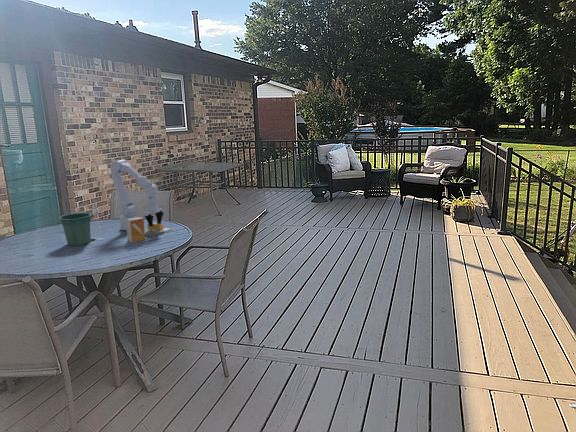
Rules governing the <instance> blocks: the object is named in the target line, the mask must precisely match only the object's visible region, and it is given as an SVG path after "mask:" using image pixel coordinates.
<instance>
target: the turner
mask: <svg viewBox="0 0 576 432" xmlns="http://www.w3.org/2000/svg"><path fill="white" fill-rule="evenodd" d="M146 225H147V229H148V230H158V231H164V233H167V232H169V231H172V230H173V228H168V227H165V228H164V223H161V224H160V223H157V222H153V226H149V224H148V223H146Z"/></svg>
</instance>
